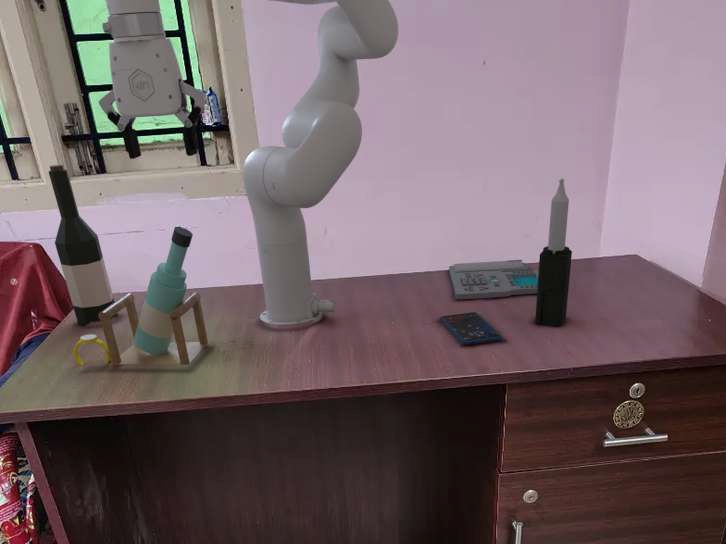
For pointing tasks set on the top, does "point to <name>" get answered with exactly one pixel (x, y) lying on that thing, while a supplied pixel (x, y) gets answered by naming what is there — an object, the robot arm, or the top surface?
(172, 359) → the caddy
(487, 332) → the smartphone
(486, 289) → the office telephone
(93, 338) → the watch
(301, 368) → the top surface
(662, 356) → the top surface
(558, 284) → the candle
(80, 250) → the wine bottle
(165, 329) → the bottle
